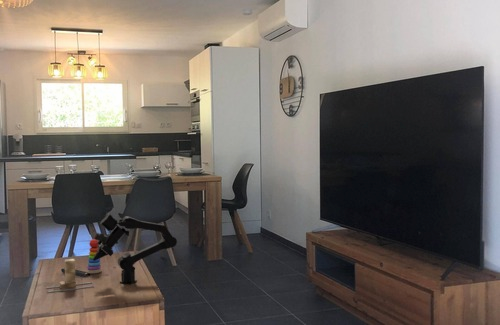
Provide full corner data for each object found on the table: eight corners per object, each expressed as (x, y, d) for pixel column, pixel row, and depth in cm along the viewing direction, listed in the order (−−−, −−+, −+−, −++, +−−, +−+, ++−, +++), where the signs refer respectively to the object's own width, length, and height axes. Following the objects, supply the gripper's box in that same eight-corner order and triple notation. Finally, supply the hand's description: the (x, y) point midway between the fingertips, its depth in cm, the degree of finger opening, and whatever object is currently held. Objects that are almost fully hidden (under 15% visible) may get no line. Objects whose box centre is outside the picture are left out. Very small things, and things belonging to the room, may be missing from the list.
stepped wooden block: (74, 285, 268) (73, 258, 267) (75, 288, 263) (74, 260, 262) (60, 287, 265) (59, 259, 265) (60, 290, 260) (60, 262, 260)
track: (91, 284, 273) (91, 282, 273) (93, 288, 265) (93, 286, 265) (46, 290, 264) (46, 287, 264) (46, 294, 257) (46, 291, 257)
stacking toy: (97, 274, 293) (96, 240, 292) (84, 273, 295) (83, 240, 294) (104, 270, 301) (103, 238, 300) (91, 270, 303) (90, 237, 302)
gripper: (100, 223, 278) (79, 246, 275) (105, 229, 261) (83, 253, 258) (116, 237, 282) (95, 260, 278) (122, 243, 265) (100, 268, 261)
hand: (93, 260), depth 269 cm, fingers closed
